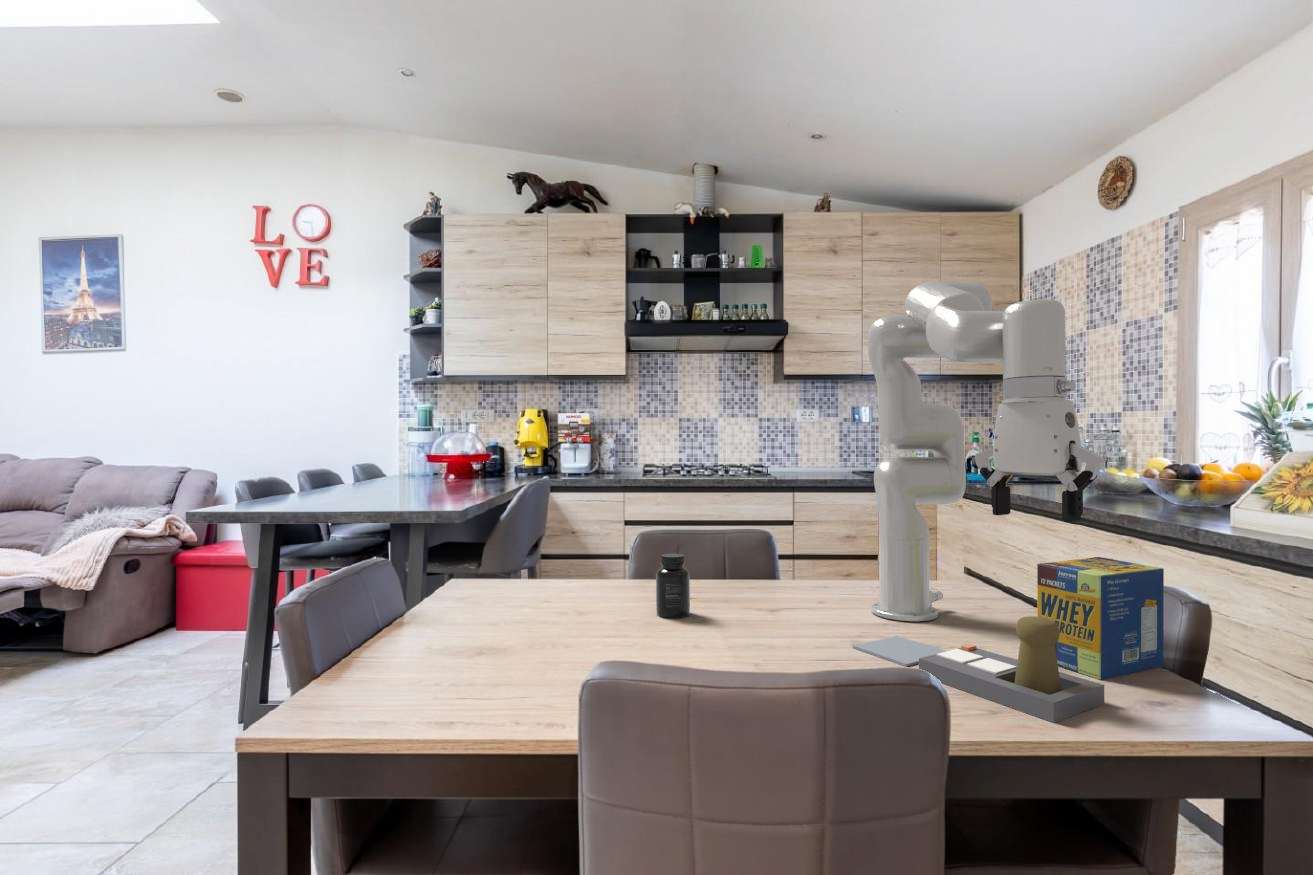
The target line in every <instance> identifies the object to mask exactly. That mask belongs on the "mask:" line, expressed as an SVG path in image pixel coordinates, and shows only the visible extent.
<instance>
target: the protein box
mask: <svg viewBox="0 0 1313 875" xmlns="http://www.w3.org/2000/svg"><path fill="white" fill-rule="evenodd" d="M1036 566H1037V567H1036V569H1037V570H1036V572H1037V573H1036V574H1037V576H1036V579H1037V582H1036V584H1037V585H1036V588H1037V591H1036V592H1037V593H1036V594H1037V595H1036V596H1037V597H1036V598H1037V599H1036V600H1037V604H1036V605H1037V606H1036V607H1037V608H1036V609H1037V611H1036V612H1037V613H1036V614H1037V616H1036V617H1042V618H1046V619H1050V620H1052V621H1053V622H1055V623H1056V625H1057V626H1058V628H1059V631H1060V637H1059V640H1058V642H1057V643H1056V644H1055V650H1056V656H1057V663H1058V667H1060V668H1063V669H1067V670H1070V671H1073V672H1075V673H1078V674H1082V675H1085V676H1088V677H1091V678H1093V679H1096V680H1101V681H1102V680H1105V679H1110V678H1111V679H1113V678H1116V677H1121V676H1125V675H1130V674H1134V673H1139V672H1140V673H1141V672H1144V671H1149V670H1153V669H1158V668H1162V667H1164V633H1165V632H1164V624H1165V622H1164V618H1165V617H1164V615H1165V614H1164V611H1165V610H1164V601H1165V600H1164V598H1165V597H1164V593H1165V592H1164V582H1165V580H1164V575H1165V572H1164V571H1165V569H1164V568H1162V567H1157V566H1152V565H1148V564H1147V565H1146V564H1141V563H1134V562H1129V561H1124V560H1117V559H1112V558H1107V557H1101V556H1095V557H1087V558H1079V559H1070V560H1060V561H1052V562H1044V563H1043V562H1041V563H1037V565H1036Z"/></svg>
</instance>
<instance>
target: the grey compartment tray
mask: <svg viewBox="0 0 1313 875" xmlns="http://www.w3.org/2000/svg"><path fill="white" fill-rule="evenodd" d="M945 651H946V652H942V653H938V654H934V655H930V656H926V657H922V658H919V664H918V670H919V669H922V670H925V671H927V672H929V673H931V674H932V675H933V676H935V677H936V678H937V679H939V680H940V681H941V683H940V684H943V685H945V686H949V687H951V688H953V689H958V690H960V691H962V692H965V693H969V694H970V695H974V696H977V697H979V698H982V699H984V700H988V701H992V702H993V703H996V704H999V705H1002V704H1003V705H1002V706H1005V705H1006V706H1005V707H1007V706H1009V707H1008V708H1010V707H1012V708H1011V709H1013V708H1014V709H1013V710H1016V709H1017V710H1016V711H1019V710H1020V711H1019V712H1022V711H1023V712H1022V713H1024V712H1025V713H1024V714H1027V713H1028V715H1030V714H1032V715H1031V716H1033V715H1034V716H1033V717H1036V716H1037V717H1036V718H1038V717H1040V718H1039V719H1041V718H1043V719H1042V720H1044V719H1045V720H1044V721H1047V722H1050V723H1052V724H1053V723H1057V722H1061V721H1062V720H1065V719H1068V718H1070V717H1073V716H1075V715H1078V714H1081V713H1083V712H1086V711H1088V710H1091V709H1094V708H1097V707H1100V706H1103V705H1104V704H1105V684H1103V683H1099V682H1097V681H1093V680H1092V681H1091V680H1089V679H1085V678H1082V677H1078V676H1075V675H1072V674H1067V673H1064V672H1062V671H1059V676H1060V683H1061V689H1062V691H1060V692H1057V693H1054V694H1051V695H1048V694H1045V693H1042V692H1039V691H1036V690H1033V689H1030V688H1027V687H1023V686H1020V685H1017V684H1014V682H1015V675H1016V669H1017V662H1018V658H1017V659H1016V658H1013V657H1010V656H1006V655H1002V654H998V653H995V652H991V651H990V650H989V651H988V650H985V649H981V648H978V647H977V645H975V644H973V643H972V644H971V643H967V644H964V645H961V647H960V648H955V649H951V650H945Z"/></svg>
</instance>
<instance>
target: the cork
mask: <svg viewBox="0 0 1313 875" xmlns="http://www.w3.org/2000/svg"><path fill="white" fill-rule="evenodd" d="M1015 632H1016V636H1017V638H1018V639H1019V642H1020V643H1019V647H1018V648H1019V650H1018V656H1017V660H1018V662H1017V669H1016V675H1015V682H1014V684H1017V685H1020V686H1023V687H1027V688H1030V689H1033V690H1036V691H1039V692H1042V693H1045V694H1048V695H1051V694H1054V693H1057V692H1060V691H1062V689H1061V683H1060V676H1059V672H1060V671H1059V666H1058V663H1057V656H1056V650H1055V644H1056V643H1057V642H1058V640H1059V637H1060V631H1059V628H1058V626H1057V625H1056V623H1055V622H1053V621H1052V620H1050V619H1046V618H1042V617H1037V616H1034V615H1033V616H1031V615H1030V616H1023V617H1021V618H1019V619H1018V620H1017V622H1016V624H1015Z"/></svg>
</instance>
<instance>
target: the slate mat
mask: <svg viewBox="0 0 1313 875" xmlns="http://www.w3.org/2000/svg"><path fill="white" fill-rule="evenodd" d="M852 648H853V649H854V650H857V651H860V652H863V653H866V654H869V655H872V656H875V657H878V658H881V659H883V660H887V661H889V662H893V663H895V664H898V663H899V664H898V665H901V666H903V667H906V666H907V667H910V666H914V665H917V664H918V665H919V658H922V657H926V656H930V655H934V654H938V653H942V652H946V651H947V650H945V649H942V648H939V647H936V646H931V645H928V644H925V643H921V642H919V641H917V640H916V641H915V640H912V639H909V638H905V637H903V636H899V635H895V636H891V637H886V638H881V639H878V640H877V639H876V640H872V641H868V642H863V643H858V644H854V645H852Z"/></svg>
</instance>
